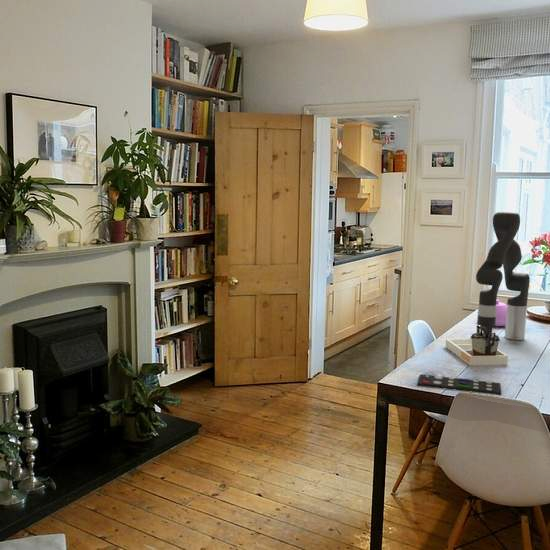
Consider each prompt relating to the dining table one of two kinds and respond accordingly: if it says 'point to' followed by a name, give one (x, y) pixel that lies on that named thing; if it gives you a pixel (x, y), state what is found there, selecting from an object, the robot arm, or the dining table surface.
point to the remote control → (459, 384)
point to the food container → (483, 345)
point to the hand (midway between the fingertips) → (484, 351)
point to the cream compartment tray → (465, 353)
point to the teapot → (500, 313)
